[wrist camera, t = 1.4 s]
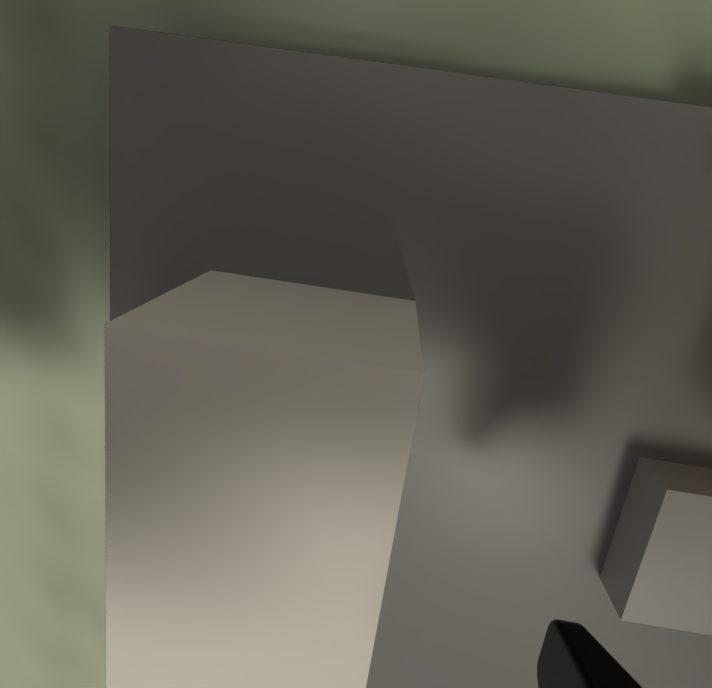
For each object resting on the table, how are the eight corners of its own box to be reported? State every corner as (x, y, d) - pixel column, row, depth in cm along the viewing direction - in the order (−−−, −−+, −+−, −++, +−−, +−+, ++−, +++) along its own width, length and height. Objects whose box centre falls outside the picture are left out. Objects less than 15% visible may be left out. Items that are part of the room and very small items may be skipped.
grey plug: (415, 300, 10) (424, 373, 7) (351, 668, 13) (332, 867, 9) (210, 270, 11) (104, 323, 7) (190, 640, 13) (107, 826, 10)
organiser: (1357, 210, 10) (1682, 223, 8) (955, 804, 15) (1069, 934, 12) (147, 44, 11) (70, 4, 8) (137, 661, 16) (85, 757, 13)
